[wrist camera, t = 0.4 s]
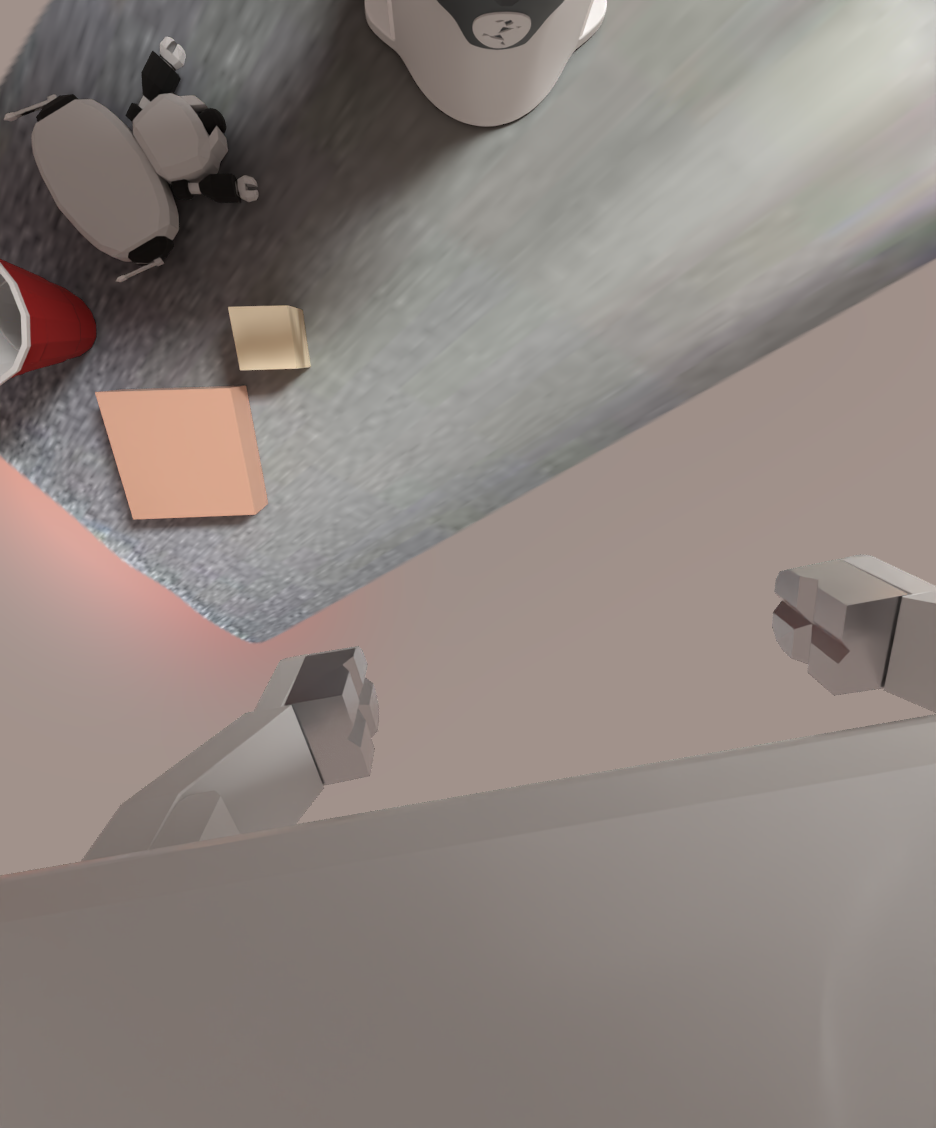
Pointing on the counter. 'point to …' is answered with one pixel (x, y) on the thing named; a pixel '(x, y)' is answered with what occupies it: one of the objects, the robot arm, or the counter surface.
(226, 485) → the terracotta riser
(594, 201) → the counter surface
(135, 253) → the robot toy
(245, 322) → the maple cube
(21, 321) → the plastic cup
